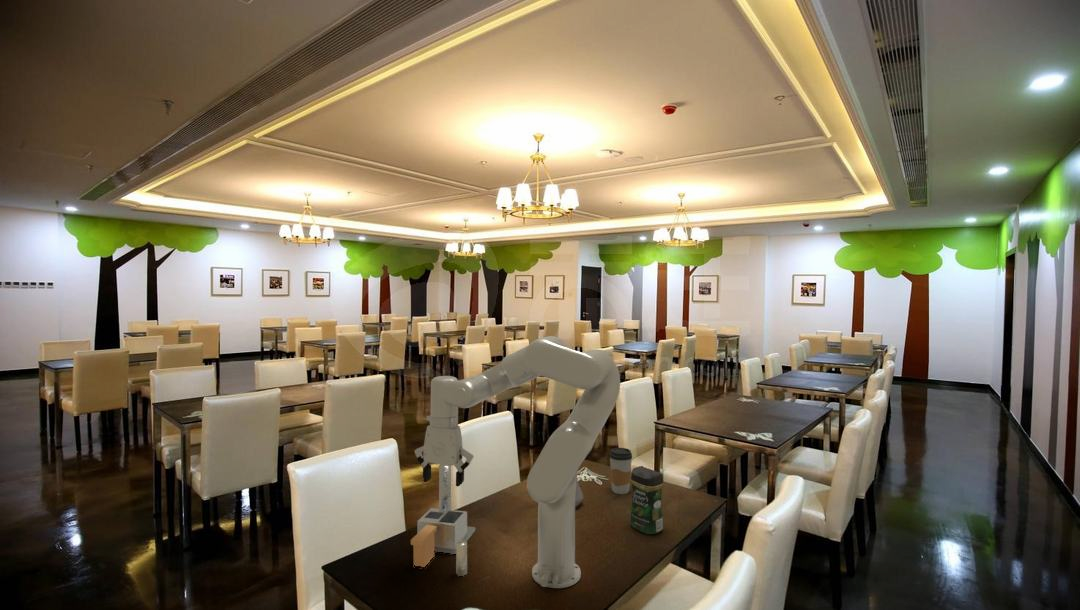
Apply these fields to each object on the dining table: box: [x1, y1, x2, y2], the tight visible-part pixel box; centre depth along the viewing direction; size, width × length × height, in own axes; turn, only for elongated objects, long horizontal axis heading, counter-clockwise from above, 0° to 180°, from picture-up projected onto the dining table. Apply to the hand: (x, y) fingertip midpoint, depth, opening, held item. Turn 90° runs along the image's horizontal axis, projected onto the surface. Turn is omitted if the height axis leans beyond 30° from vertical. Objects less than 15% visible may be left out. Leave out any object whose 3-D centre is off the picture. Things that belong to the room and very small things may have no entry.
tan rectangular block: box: [410, 525, 437, 567], centre depth 138 cm, size 9×3×8 cm, turn 167°
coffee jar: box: [630, 465, 664, 535], centre depth 157 cm, size 10×8×19 cm
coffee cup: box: [608, 447, 633, 495], centre depth 187 cm, size 8×8×15 cm
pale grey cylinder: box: [455, 541, 468, 577], centre depth 132 cm, size 3×3×8 cm
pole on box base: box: [416, 464, 476, 555], centre depth 150 cm, size 15×12×20 cm
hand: (443, 482), depth 141 cm, fingers open, 9 cm apart
